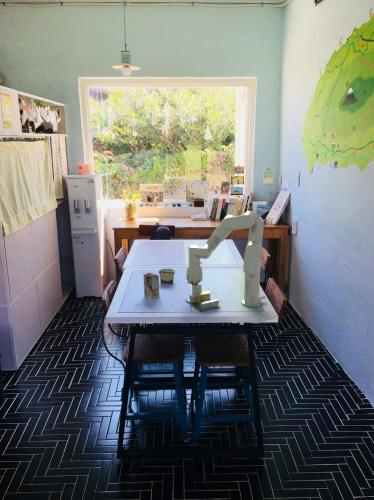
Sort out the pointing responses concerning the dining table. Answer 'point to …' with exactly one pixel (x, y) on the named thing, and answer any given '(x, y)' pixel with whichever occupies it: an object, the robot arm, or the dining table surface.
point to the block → (202, 297)
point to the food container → (166, 276)
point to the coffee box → (151, 286)
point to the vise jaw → (195, 290)
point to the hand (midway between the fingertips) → (194, 290)
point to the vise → (205, 305)
